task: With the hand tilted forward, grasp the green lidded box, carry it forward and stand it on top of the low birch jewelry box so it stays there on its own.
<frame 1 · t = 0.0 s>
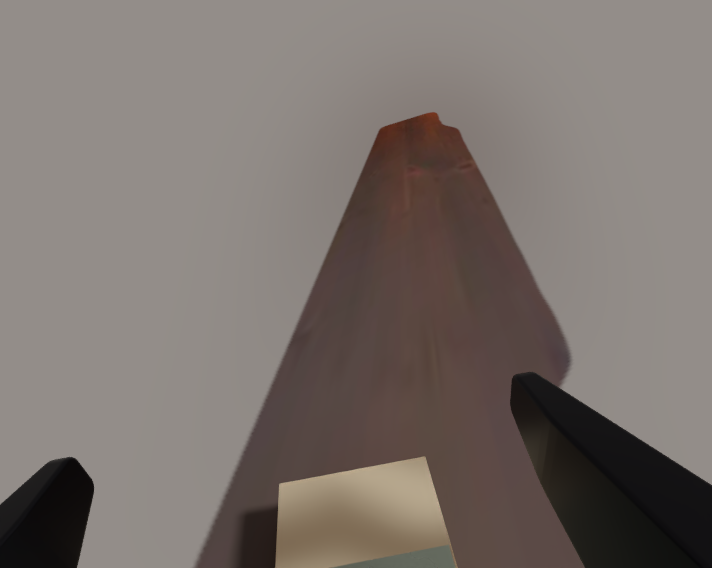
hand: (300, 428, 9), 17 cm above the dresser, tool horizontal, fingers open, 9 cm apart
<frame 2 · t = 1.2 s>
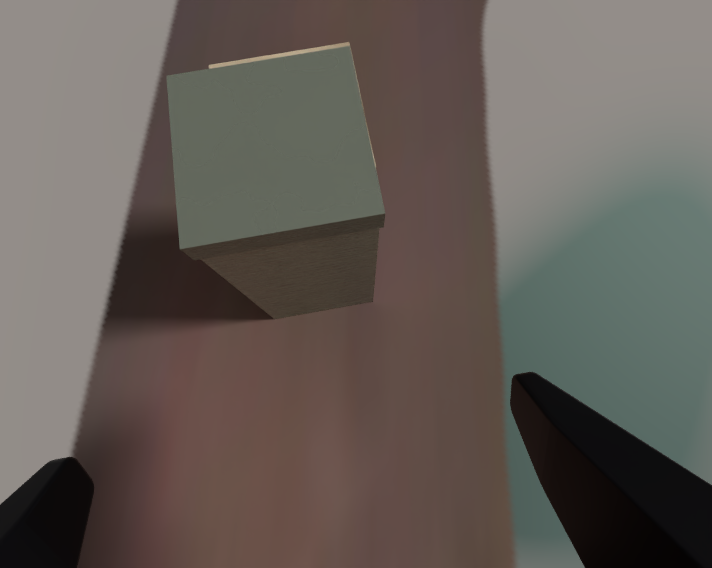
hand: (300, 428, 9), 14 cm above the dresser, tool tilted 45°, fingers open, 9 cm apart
jewelry box: (297, 144, 26), on the dresser
green lidded box: (316, 263, 24), on the dresser
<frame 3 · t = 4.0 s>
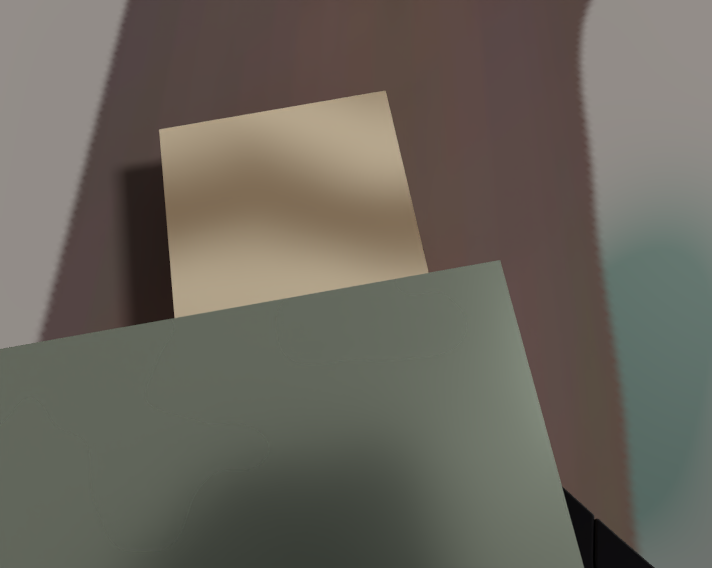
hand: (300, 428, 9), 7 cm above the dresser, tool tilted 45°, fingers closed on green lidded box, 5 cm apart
jewelry box: (302, 244, 17), on the dresser
green lidded box: (333, 452, 15), on the dresser, touching gripper
when the fingers open (10 cm above the dresser, at t = 7.0 s): green lidded box drops 1 cm, point 3 cm above the dresser.
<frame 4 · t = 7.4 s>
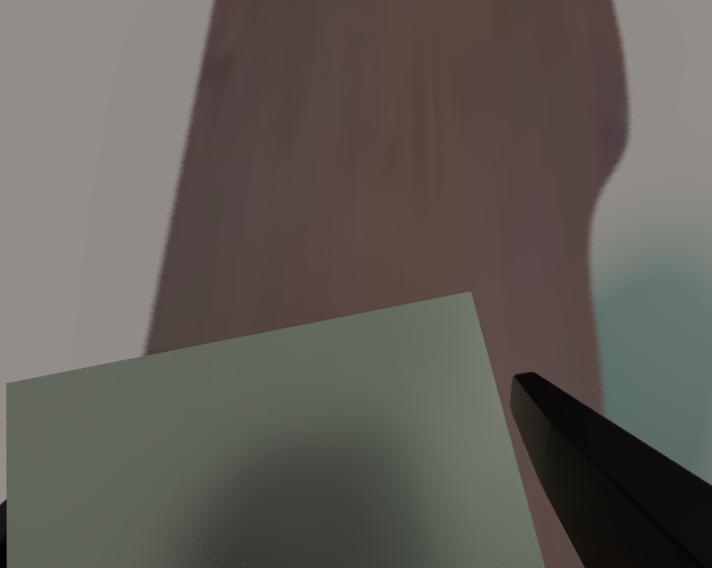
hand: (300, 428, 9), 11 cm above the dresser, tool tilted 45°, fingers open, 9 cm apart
green lidded box: (338, 444, 16), point 3 cm above the dresser
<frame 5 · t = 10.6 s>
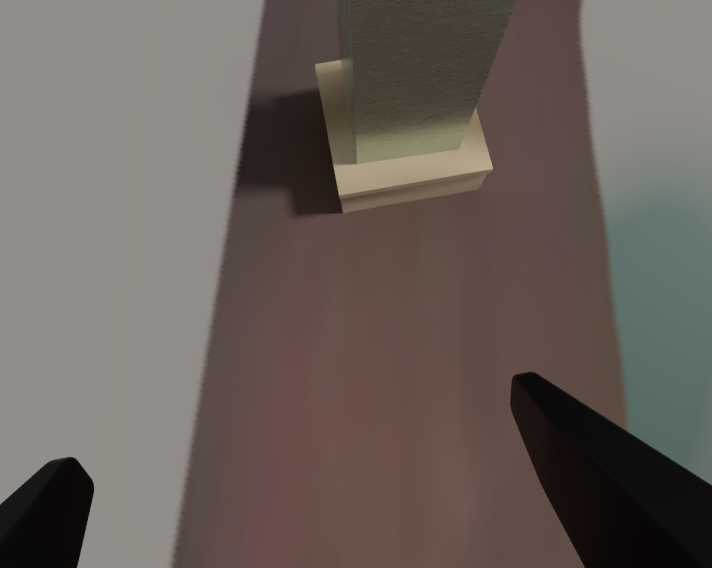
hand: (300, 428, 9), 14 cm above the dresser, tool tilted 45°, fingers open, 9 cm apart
jewelry box: (396, 145, 26), on the dresser, touching green lidded box
green lidded box: (398, 111, 23), point 3 cm above the dresser, touching jewelry box
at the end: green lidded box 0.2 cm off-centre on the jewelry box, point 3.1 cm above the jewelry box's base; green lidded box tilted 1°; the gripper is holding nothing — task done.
